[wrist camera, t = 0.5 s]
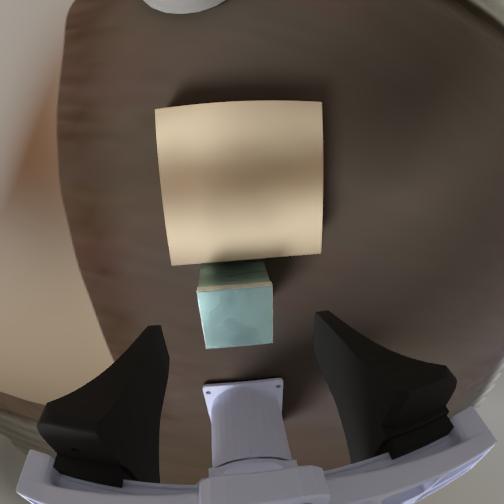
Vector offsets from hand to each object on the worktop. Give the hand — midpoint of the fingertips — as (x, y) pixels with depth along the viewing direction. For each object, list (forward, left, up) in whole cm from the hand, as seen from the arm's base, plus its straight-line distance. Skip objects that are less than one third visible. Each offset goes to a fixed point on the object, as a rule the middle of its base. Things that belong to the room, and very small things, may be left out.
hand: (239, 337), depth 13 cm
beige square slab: (+6, -1, -10) cm, 11 cm away
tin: (-2, 0, -10) cm, 10 cm away
